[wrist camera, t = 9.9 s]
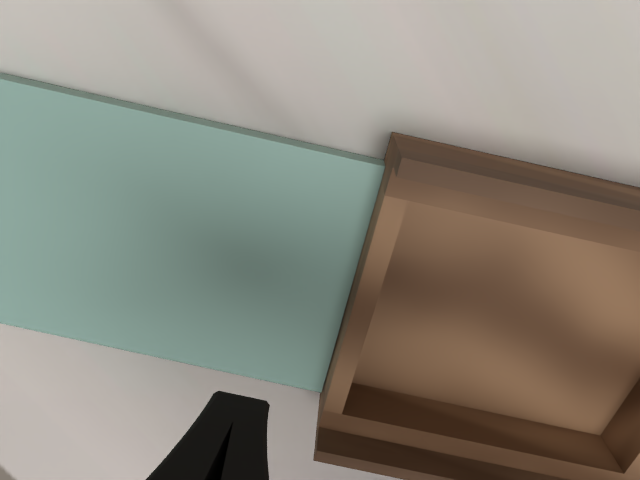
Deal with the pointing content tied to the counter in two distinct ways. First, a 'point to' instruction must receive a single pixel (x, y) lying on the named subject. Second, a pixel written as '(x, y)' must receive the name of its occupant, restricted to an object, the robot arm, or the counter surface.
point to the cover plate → (177, 233)
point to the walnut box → (489, 325)
